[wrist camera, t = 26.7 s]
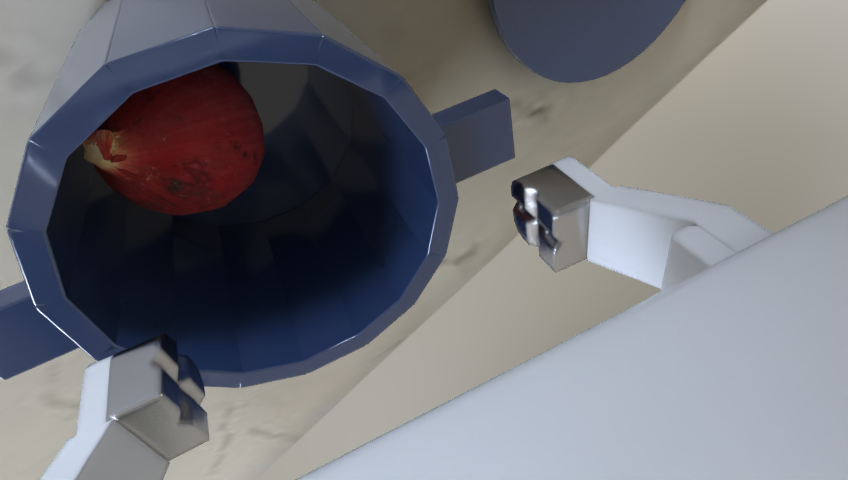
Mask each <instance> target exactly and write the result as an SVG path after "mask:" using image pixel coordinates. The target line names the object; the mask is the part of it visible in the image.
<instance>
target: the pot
mask: <svg viewBox="0 0 848 480" xmlns="http://www.w3.org/2000/svg"><path fill="white" fill-rule="evenodd" d="M215 64H216V65H218V66H220V67H221V68H223V69H225V70H227V71H228V72H230V73H232V74H233V76H234V77H235V78H236V79H237V80H238V82H239V83H240V84H241V85H242V86H243V87H244V89H245V90H246V91H247V92H248V93H249V95H250V96H251V97H252V99H253V102H254V104H255V107H256V109H257V112H258V114H259V117H260V119H261V122H262V124H263V134H264V148H265V156H264V158H263V161H262V163H261V166H260V168H259V171H258V173H257V176H256V178H255V180H254V182H253V183H252V184H251V185H250V186H249V187H248V188H247V189H246V190H244V191H243V192H242V193H241V194H239V195H238V196H237V197H236V198H234V199H233V200H232V201H231V202H229V203H228V204H227V205H226V206H224V207H221V208H217V209H213V210H209V211H204V212H198V213H193V214H188V215H170V214H166V213H162V212H158V211H154V210H151V209H147V208H143V207H140V206H137V205H136V204H134V203H133V202H131V201H129V200H128V199H126V198H125V197H123V196H122V195H120V194H118V193H117V192H115V191H114V190H113V189H111V188H110V186H109V185H108V184H107V183H106V182H105V181H104V179H103V178H102V177H101V176H100V175H99V174H98V172H97V171H96V170H95V167H94V165H93V163H91V162H89V161H87V160H86V159H85V158H84V152H85V150H84V146H83V142H84V141H85V140H86V139H87V138H88V137H89V136H90V135H91V134H92V133H93V132H94V131H95V130H97V129H98V128H99V127H100V126H101V125H102V124H103V123H104V122H105V121H106V120H107V119H108V118H109V117H110V116H111V115H112V114H113V113H114V112H115V111H116V110H117V109H118V108H119V107H120V106H121V105H122V104H123V103H124V102H125V101H126V100H127V99H128V98H129V97H130V96H131V95H132V94H133V93H136V92H139V91H142V90H145V89H147V88H150V87H153V86H156V85H159V84H161V83H164V82H167V81H170V80H173V79H175V78H178V77H181V76H184V75H187V74H189V73H192V72H195V71H198V70H201V69H203V68H206V67H209V66H212V65H215ZM513 158H515V152H514V141H513V131H512V120H511V110H510V100H509V98H508V97H506V96H505V95H503V94H502V93H500V92H499V91H497V90H496V89H494V90H491V91H489V92H486V93H484V94H481V95H479V96H477V97H474V98H472V99H469V100H467V101H464V102H462V103H459V104H457V105H454V106H452V107H450V108H447V109H445V110H442V111H440V112H437V113H435V114H432V115H431V113H430V112H429V111H428V110H427V108H426V107H425V106H424V104H423V103H422V102H421V100H420V99H419V98H418V96H417V95H416V94H415V92H414V91H413V90H412V88H411V87H410V86H409V84H408V83H407V82H406V80H405V79H404V78H403V77H402V76H401V75H400V74H399V73H397V72H396V71H395V70H394V69H393V68H392V67H391V66H389V65H388V64H387V63H386V62H385V61H384V60H383V59H381V58H380V57H379V56H378V55H377V54H376V53H374V52H373V51H372V50H371V49H370V48H369V47H368V46H366V45H365V44H364V43H363V42H362V41H361V40H360V39H358V38H357V37H356V36H355V35H354V34H353V33H351V32H350V31H349V30H348V29H347V28H346V27H345V26H343V25H342V24H341V23H340V22H339V21H338V20H337V19H335V18H334V17H333V16H332V15H331V14H330V13H328V12H327V11H326V10H325V9H324V8H323V7H322V6H320V5H319V4H318V3H317V2H315V1H313V0H108V1H107V2H106V3H105V4H104V5H103V6H102V7H101V8H100V9H99V10H98V12H97V13H96V14H95V15H94V16H93V17H92V18H91V19H90V20H89V21H88V22H87V23H86V24H85V25H84V26H83V27H82V28H81V29H80V31H79V33H78V35H77V37H76V39H75V41H74V43H73V45H72V47H71V50H70V52H69V54H68V56H67V58H66V60H65V62H64V64H63V67H62V69H61V71H60V73H59V75H58V77H57V79H56V81H55V84H54V86H53V88H52V90H51V92H50V94H49V96H48V98H47V101H46V103H45V105H44V107H43V109H42V111H41V113H40V115H39V118H38V120H37V122H36V124H35V126H34V128H33V130H32V132H31V135H30V137H29V139H28V141H27V144H26V148H25V152H24V156H23V160H22V164H21V168H20V172H19V176H18V180H17V184H16V188H15V193H14V197H13V201H12V205H11V209H10V213H9V217H8V221H7V225H6V227H7V233H8V236H9V239H10V241H11V244H12V247H13V250H14V253H15V255H16V258H17V261H18V264H19V266H20V269H21V272H22V275H23V277H24V280H25V281H22V282H20V283H17V284H15V285H12V286H10V287H7V288H5V289H2V290H0V378H1V379H3V380H7V379H9V378H12V377H14V376H16V375H18V374H21V373H23V372H25V371H28V370H30V369H32V368H34V367H37V366H39V365H41V364H44V363H46V362H48V361H50V360H53V359H55V358H57V357H60V356H62V355H64V354H66V353H69V352H71V351H73V350H76V349H78V348H81V349H82V350H84V351H85V352H86V353H87V354H88V355H89V356H90V357H92V358H94V359H95V360H97V361H100V360H103V359H105V358H107V357H110V356H113V355H114V354H116V353H118V352H121V351H123V350H126V349H128V348H130V347H133V346H135V345H138V344H140V343H143V342H145V341H147V340H150V339H152V338H155V337H157V336H160V335H162V334H166V335H169V336H170V337H171V338H172V339H173V340H174V341H175V342H176V343H177V354H182V355H186V356H189V358H190V359H191V360H192V361H193V362H194V364H195V365H196V367H197V368H198V370H199V372H200V375H201V378H202V381H203V384H204V386H206V387H227V388H239V387H240V388H243V387H248V386H253V385H257V384H262V383H267V382H272V381H276V380H281V379H286V378H291V377H295V376H300V375H305V374H307V373H310V372H312V371H314V370H316V369H318V368H321V367H323V366H325V365H327V364H329V363H331V362H333V361H335V360H337V359H339V358H341V357H343V356H345V355H347V354H349V353H352V352H354V351H356V350H358V349H360V348H362V347H364V346H365V344H366V345H367V344H369V343H370V342H371V341H372V340H373V339H374V338H376V337H377V336H378V335H379V334H380V333H381V332H383V331H384V330H385V329H386V328H387V327H388V326H390V325H391V324H392V323H393V322H394V321H395V320H397V319H398V318H399V317H400V316H401V315H402V314H404V313H405V312H406V311H407V310H408V309H409V308H411V307H412V305H414V304H415V302H416V301H417V299H418V298H419V296H420V295H421V293H422V292H423V290H424V288H425V287H426V285H427V284H428V282H429V281H430V279H431V277H432V276H433V274H434V273H435V271H436V270H437V268H438V267H439V265H440V263H441V262H442V260H443V259H444V257H445V255H446V252H447V247H448V243H449V238H450V234H451V230H452V225H453V221H454V216H455V212H456V207H457V203H458V192H457V187H456V183H458V182H460V181H462V180H465V179H467V178H469V177H472V176H474V175H476V174H478V173H481V172H483V171H485V170H488V169H490V168H492V167H494V166H497V165H499V164H501V163H504V162H506V161H508V160H510V159H513Z"/></svg>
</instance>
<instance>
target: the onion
mask: <svg viewBox="0 0 848 480" xmlns="http://www.w3.org/2000/svg"><path fill="white" fill-rule="evenodd" d="M83 146H84V150H85V152H84V158H85V159H86V160H87V161H89V162H91V163H93V165H94V167H95V170H96V171H97V172H98V174H99V175H100V176H101V177H102V178H103V179H104V181H105V182H106V183H107V184H108V185H109V186H110V188H111V189H113V190H114V191H115V192H117V193H118V194H120V195H122V196H123V197H125V198H126V199H128V200H129V201H131V202H133V203H134V204H136V205H137V206H140V207H143V208H147V209H151V210H154V211H158V212H162V213H166V214H170V215H188V214H193V213H198V212H204V211H209V210H213V209H217V208H221V207H224V206H226V205H227V204H228V203H229V202H231V201H232V200H233V199H234V198H236V197H237V196H238V195H239V194H241V193H242V192H243V191H244V190H246V189H247V188H248V187H249V186H250V185H251V184H252V183H253V182H254V180H255V178H256V176H257V173H258V171H259V168H260V166H261V163H262V161H263V158H264V156H265V148H264V134H263V124H262V122H261V119H260V117H259V114H258V112H257V109H256V107H255V104H254V102H253V99H252V97H251V96H250V95H249V93H248V92H247V91H246V90H245V89H244V87H243V86H242V85H241V84H240V83H239V82H238V80H237V79H236V78H235V77H234V76H233V74H232V73H230V72H228V71H227V70H225V69H223V68H221V67H220V66H218V65H216V64H215V65H212V66H209V67H206V68H203V69H201V70H198V71H195V72H192V73H189V74H187V75H184V76H181V77H178V78H175V79H173V80H170V81H167V82H164V83H161V84H159V85H156V86H153V87H150V88H147V89H145V90H142V91H139V92H136V93H133V94H132V95H131V96H130V97H129V98H128V99H127V100H126V101H125V102H124V103H123V104H122V105H121V106H120V107H119V108H118V109H117V110H116V111H115V112H114V113H113V114H112V115H111V116H110V117H109V118H108V119H107V120H106V121H105V122H104V123H103V124H102V125H101V126H100V127H99V128H98V129H97V130H95V131H94V132H93V133H92V134H91V135H90V136H89V137H88V138H87V139H86V140H85V141H84V142H83Z"/></svg>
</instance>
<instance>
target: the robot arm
mask: <svg viewBox="0 0 848 480" xmlns="http://www.w3.org/2000/svg"><path fill="white" fill-rule="evenodd" d="M511 194H512V196H513V197H514V198H515V199H516V200H517V203H516V205H515V207H514V209H513V215H514V222H515V224H516V227H517V229H518V231H519V233H520V235H521V236H522V238H523V239H524V240H525V241H526V242H527V243H528V244H529V245H533V246H536V247H539V256H540V257H541V258H542V259H543V260H544V261H545V262H546V263H547V264H548V265H549V266H550V267H551V268H552V270H553V271H554V272H558V271H561V270H563V269H565V268H567V267H569V266H571V265H574V264H576V263H578V262H581V261H583V260H585V259H587V261H590V262H592V263H595V264H598V265H600V266H603V267H605V268H608V269H611V270H613V271H616V272H619V273H621V274H624V275H626V276H629V277H632V278H634V279H637V280H640V281H642V282H645V283H647V284H650V285H653V286H655V287H658V288H661V291H660V292H659V293H658V294H656V295H654V296H652V297H650V298H648V299H646V300H644V301H642V302H640V303H638V304H636V305H634V306H632V307H630V308H628V309H626V310H625V311H622V312H620V313H619V314H617V315H615V316H613V317H611V318H609V319H607V320H605V321H603V322H601V323H599V324H597V325H595V326H593V327H591V328H589V329H587V330H585V331H583V332H582V333H580V334H578V335H576V336H574V337H572V338H570V339H568V340H566V341H564V342H562V343H560V344H559V345H556V346H554V347H552V348H551V349H549V350H547V351H545V352H543V353H541V354H539V355H537V356H535V357H533V358H531V359H529V360H527V361H525V362H524V363H521V364H520V365H518V366H516V367H514V368H512V369H510V370H508V371H506V372H504V373H502V374H500V375H498V376H496V377H495V378H492V379H490V380H489V381H487V382H485V383H483V384H481V385H479V386H477V387H475V388H473V389H471V390H469V391H467V392H465V393H463V394H461V395H459V396H458V397H456V398H454V399H452V400H450V401H448V402H446V403H444V404H442V405H440V406H438V407H436V408H434V409H432V410H430V411H428V412H426V413H424V414H422V415H420V416H419V417H417V418H415V419H413V420H411V421H409V422H407V423H405V424H403V425H401V426H399V427H397V428H395V429H393V430H391V431H389V432H387V433H386V434H384V435H382V436H380V437H378V438H376V439H374V440H372V441H370V442H368V443H366V444H364V445H362V446H360V447H358V448H356V449H354V450H352V451H350V452H348V453H346V454H345V455H343V456H341V457H339V458H337V459H335V460H333V461H331V462H329V463H327V464H325V465H323V466H321V467H319V468H317V469H315V470H314V471H311V472H309V473H308V474H306V475H304V476H302V477H300V478H298V479H296V480H848V196H846V197H844V198H842V199H840V200H838V201H836V202H834V203H832V204H830V205H829V206H827V207H825V208H823V209H821V210H819V211H817V212H815V213H813V214H811V215H809V216H807V217H805V218H803V219H801V220H799V221H797V222H796V223H794V224H792V225H790V226H788V227H786V228H784V229H782V230H780V231H778V232H776V233H774V234H773V233H772V232H770V231H768V230H767V229H765V228H764V227H762V226H760V225H759V224H757V223H756V222H754V221H753V220H751V219H749V218H748V217H746V216H745V215H743V214H741V213H740V212H738V211H737V210H735V209H733V208H732V207H730V206H729V205H726V204H721V203H715V202H709V201H704V200H698V199H692V198H687V197H681V196H676V195H670V194H664V193H659V192H653V191H648V190H642V189H636V188H631V187H625V186H619V187H617V188H615V187H613V186H612V185H610V184H609V183H607V182H606V181H605V180H603V179H602V178H601V177H599V176H598V175H597V174H595V173H594V172H593V171H591V170H590V169H588V168H587V167H586V166H584V165H583V164H582V163H580V162H579V161H578V160H576V159H575V158H573V157H570V156H567V157H564V158H562V159H560V160H558V161H556V162H554V163H551V164H550V165H549V166H546V167H543V168H541V169H539V170H537V171H534V172H532V173H530V174H528V175H525V176H523V177H521V178H519V179H517V180H514V181H513V182H512V185H511ZM204 396H205V391H204V384H203V381H202V378H201V375H200V372H199V370H198V368H197V367H196V365H195V364H194V362H193V361H192V360H191V359H190V358H189V356H186V355H182V354H177V343H176V342H175V341H174V340H173V339H172V338H171V337H170V336H169V335H166V334H162V335H160V336H157V337H155V338H152V339H150V340H147V341H145V342H143V343H140V344H138V345H135V346H133V347H130V348H128V349H126V350H123V351H121V352H118V353H116V354H114V355H113V356H110V357H107V358H105V359H103V360H100V361H98V362H95V363H93V364H90V365H89V366H88V367H87V368H86V370H85V371H84V375H83V382H82V390H81V398H80V405H79V413H78V421H77V428H76V436H75V437H73V438H70V439H68V440H67V441H66V443H65V444H64V446H63V447H62V448H61V450H60V451H59V453H58V454H57V456H56V457H55V458H54V460H53V461H52V463H51V464H50V466H49V467H48V468H47V470H46V471H45V473H44V474H43V475H42V477H41V478H40V480H163V478H164V476H165V473H166V471H167V469H168V466H169V464H170V463H169V462H168V461H170V460H172V459H174V458H176V457H178V456H180V455H181V454H183V453H185V452H187V451H189V450H191V449H193V448H195V447H197V446H199V445H201V444H203V443H205V442H207V441H209V431H208V420H207V413H206V412H205V411H204V410H203V409H202V408H201V407H200V404H201V402H202V400H203V398H204Z"/></svg>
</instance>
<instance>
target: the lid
mask: <svg viewBox="0 0 848 480" xmlns="http://www.w3.org/2000/svg"><path fill="white" fill-rule="evenodd" d="M684 2H685V0H488V5H489V9H490V12H491V15H492V19H493V22H494V25H495V27H496V29H497V31H498V34H499V36H500V38H501V40H502V41H503V43H504V44H505V46H506V47H507V49H508V50H509V52H510V53H511V54H512V55H513V56H514V57H515V58H516V59H517V61H519V62H520V63H521V64H522V65H524V66H525V67H526V68H527V69H529V70H531V71H533V72H535V73H536V74H538V75H540V76H542V77H544V78H547V79H550V80H554V81H558V82H566V83H572V82H584V81H589V80H594V79H596V78H599V77H602V76H605V75H607V74H609V73H611V72H613V71H615V70H617V69H619V68H621V67H622V66H624V65H626V64H627V63H629V62H630V61H632V60H633V59H634V58H635V57H637V56H638V55H639V54H641V53H642V52H643V51H644V50H645V49H646V48H647V47H648V46H649V45H650V44H651V43H653V42H654V41H655V40H656V38H657V37H658V36H659V35H660V34H661V33H662V32H663V31H664V29H665V28H666V27H667V26H668V25H669V23H670V22H671V21H672V19H673V18H674V17H675V15H676V14H677V12H678V11H679V9H680V8H681V6H682V5H683V3H684Z"/></svg>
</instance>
